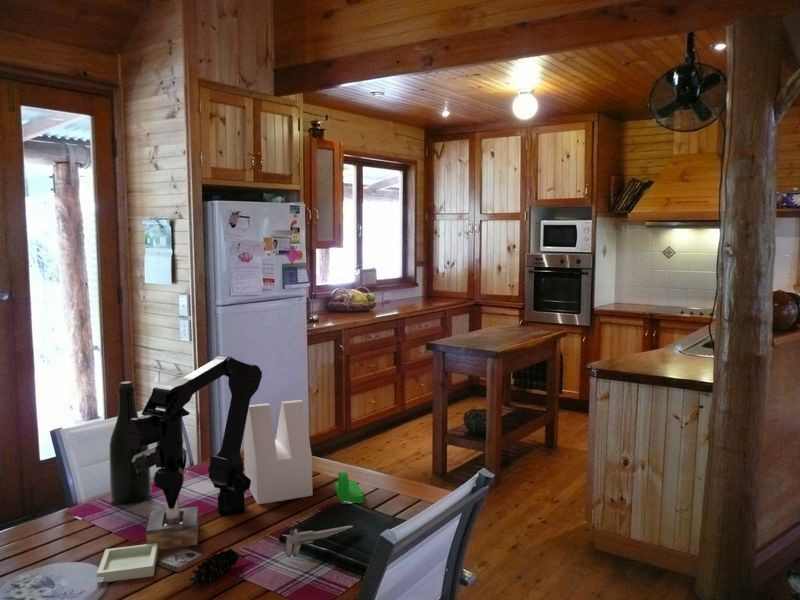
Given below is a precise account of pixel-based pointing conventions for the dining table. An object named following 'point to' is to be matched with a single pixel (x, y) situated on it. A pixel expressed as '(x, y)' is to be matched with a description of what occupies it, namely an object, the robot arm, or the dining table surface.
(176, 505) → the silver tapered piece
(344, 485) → the mechanical part
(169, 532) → the block
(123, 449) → the dark green wine bottle
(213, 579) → the pine cone
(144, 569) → the tray
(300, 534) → the caliper
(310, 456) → the white notched block
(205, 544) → the dining table surface
